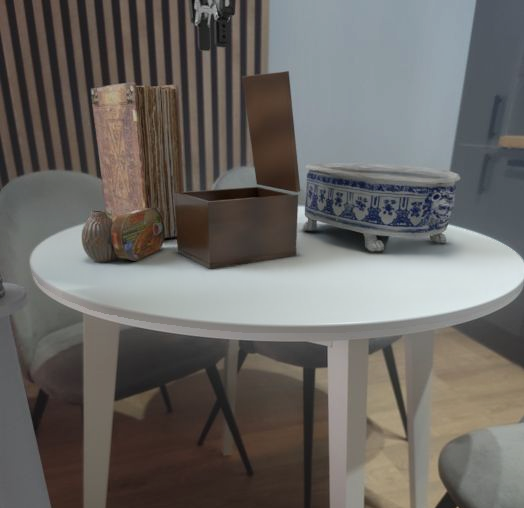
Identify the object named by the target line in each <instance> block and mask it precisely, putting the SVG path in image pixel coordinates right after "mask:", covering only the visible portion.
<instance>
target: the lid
mask: <svg viewBox="0 0 524 508" xmlns="http://www.w3.org/2000/svg"><path fill="white" fill-rule="evenodd" d="M241 81H242V87H243V88H242V89H243V95H244V103H245V109H246V118H247V123H248V133H249V136H250V137H249V138H250V139H249V140H250V146H251V152H252V158H253V166H254V167H253V168H254V175H255V182H256V185H257V186H261V187H262V186H263V187H266V188H267V187H268V188H271V189H273V188H274V189H279V190H282V191H288V192H294V193H299V192H301V184H300V174H299V173H300V172H299V164H298V154H297V153H298V152H297V142H296V132H295V122H294V111H293V101H292V90H291V79H290V71H289V70H286V71H277V72H268V73H260V74H249V75H243V76H241Z"/></svg>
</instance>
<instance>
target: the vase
mask: <svg viewBox="0 0 524 508" xmlns="http://www.w3.org/2000/svg"><path fill="white" fill-rule="evenodd" d="M112 225H113V221H112V220H111V219H110V218H109V217H108V216H107V214H106V210H104V209H103V210H102V209H96V210H92V211H90V214H89V217H88V219H87V220H86V221H85V223H84V226H83V227H82V231H81V245H82V248H83V251H84V252H85V254H86V255H87V257H88V258H89V259H91V260H92V261H93V262H96V263H98V262H99V263H107V262H111V261H114V260H116V258H117V257H118V256H117V254H116V253H115V251H114V247H113V243H112V236H111V228H112Z"/></svg>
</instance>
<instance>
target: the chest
mask: <svg viewBox="0 0 524 508" xmlns="http://www.w3.org/2000/svg"><path fill="white" fill-rule="evenodd" d="M174 198H175V214H176V230H177V237H176V243H177V253H178V254H181V255H182V256H184V257H185V258H188V259H190V260H192V261H193V262H196V263H197V264H199V265H202V266H203V267H206V268H208V269H210V270H211V269H218V268H225V267H230V266H237V265H244V264H251V263H256V262H257V263H258V262H262V261H268V260H276V259H282V258H287V257H295V256H297V242H298V241H297V238H298V237H297V236H298V213H299V194H296V193H292V192H287V191H283V190H277V189H273V188H269V187H268V188H267V187H264V186H263V187H262V186H249V187H248V186H246V187H233V188H232V187H231V188H218V189H217V188H216V189H205V190H204V189H203V190H188V191H184V192H174Z"/></svg>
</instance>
